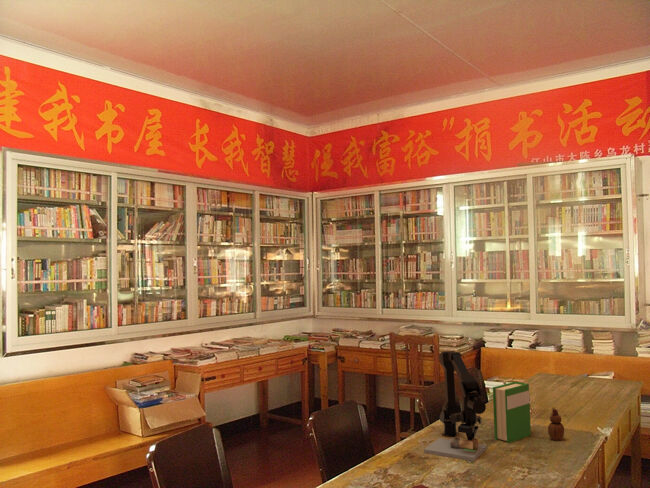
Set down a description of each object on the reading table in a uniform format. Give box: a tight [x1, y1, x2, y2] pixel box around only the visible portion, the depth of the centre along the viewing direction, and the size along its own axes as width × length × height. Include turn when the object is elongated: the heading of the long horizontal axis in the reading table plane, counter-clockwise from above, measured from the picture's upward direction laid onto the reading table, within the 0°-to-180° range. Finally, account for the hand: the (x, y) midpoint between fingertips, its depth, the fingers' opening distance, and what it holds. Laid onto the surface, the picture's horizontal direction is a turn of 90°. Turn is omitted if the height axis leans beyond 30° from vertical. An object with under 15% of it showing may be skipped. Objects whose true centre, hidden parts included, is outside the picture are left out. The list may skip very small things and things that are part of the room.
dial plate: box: [423, 437, 488, 462], centre depth 244 cm, size 18×22×2 cm
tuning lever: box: [449, 437, 479, 450], centre depth 243 cm, size 12×4×4 cm, turn 62°
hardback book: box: [492, 381, 532, 444], centre depth 261 cm, size 18×7×24 cm, turn 128°
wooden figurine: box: [547, 406, 565, 441], centre depth 256 cm, size 7×6×15 cm
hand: (470, 443), depth 244 cm, fingers closed
